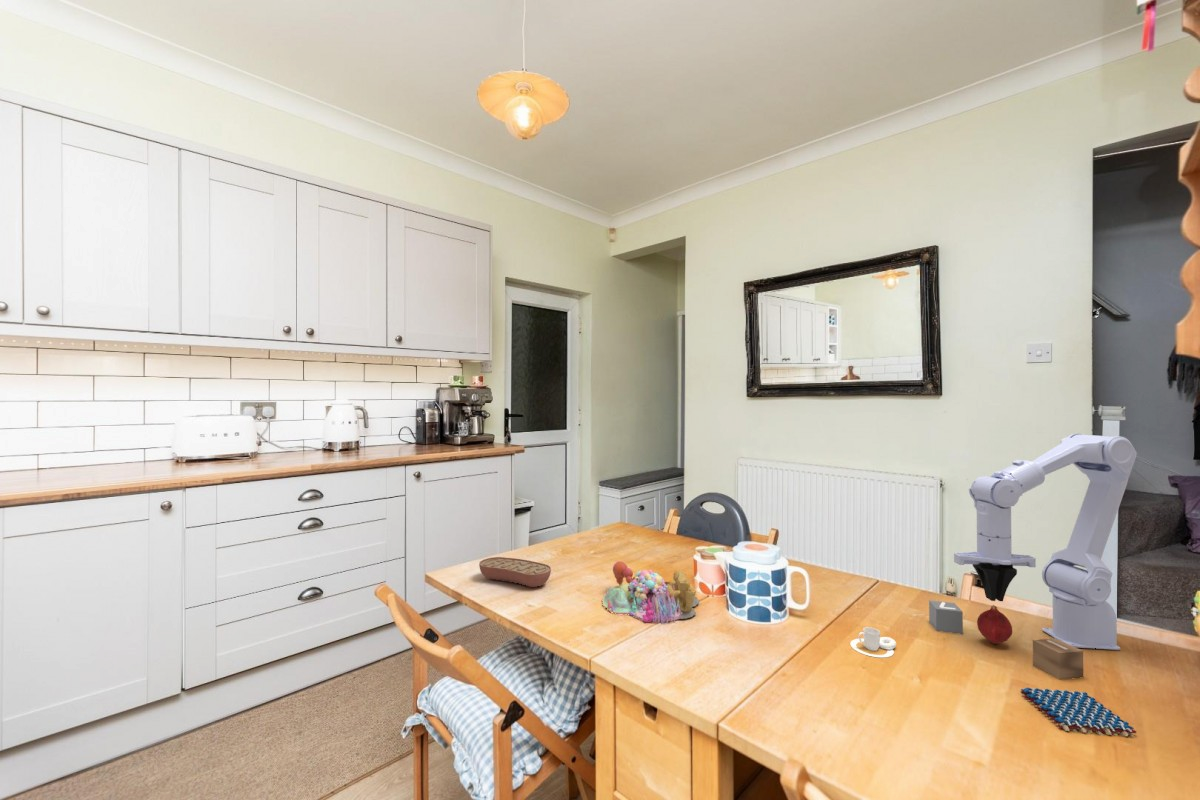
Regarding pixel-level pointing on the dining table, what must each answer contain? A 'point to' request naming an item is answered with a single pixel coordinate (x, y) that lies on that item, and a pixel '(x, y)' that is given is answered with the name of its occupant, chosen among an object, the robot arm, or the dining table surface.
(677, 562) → the dining table surface
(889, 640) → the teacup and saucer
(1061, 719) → the woven mat
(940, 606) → the slate grey block
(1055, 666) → the walnut block
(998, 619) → the onion
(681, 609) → the candy landscape model
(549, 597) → the dining table surface
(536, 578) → the patterned shoe sole
